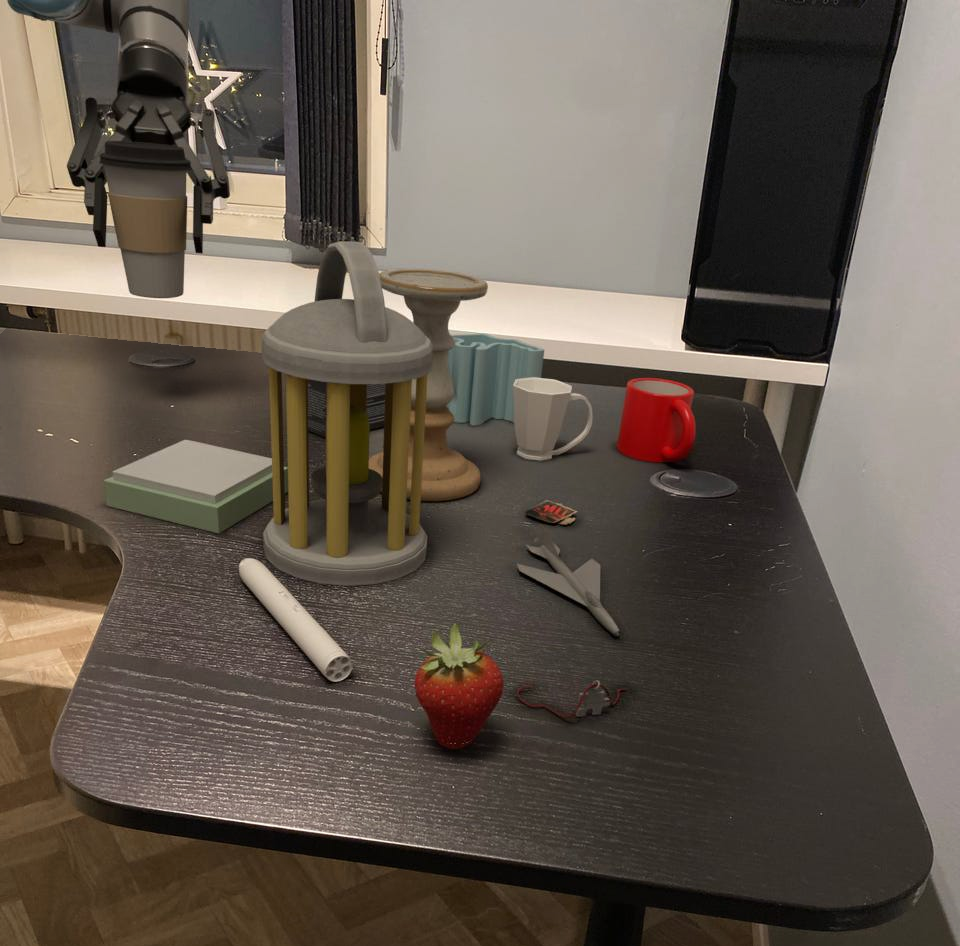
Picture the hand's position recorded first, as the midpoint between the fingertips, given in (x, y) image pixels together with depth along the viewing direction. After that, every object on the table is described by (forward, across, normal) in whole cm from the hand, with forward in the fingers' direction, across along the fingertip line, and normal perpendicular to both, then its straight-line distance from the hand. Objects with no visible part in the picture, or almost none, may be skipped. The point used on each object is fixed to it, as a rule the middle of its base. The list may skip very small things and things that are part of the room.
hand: (149, 241), depth 99 cm
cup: (+22, -44, -5) cm, 49 cm away
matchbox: (+35, -40, +8) cm, 54 cm away
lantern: (+40, -19, +13) cm, 46 cm away
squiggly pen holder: (+12, -36, -14) cm, 40 cm away
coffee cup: (+2, 0, -6) cm, 7 cm away
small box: (+15, -21, -11) cm, 29 cm away
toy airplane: (+44, -38, +18) cm, 61 cm away
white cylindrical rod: (+49, -14, +22) cm, 56 cm away
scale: (+32, -6, +6) cm, 33 cm away
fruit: (+60, -24, +34) cm, 73 cm away
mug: (+22, -58, -5) cm, 62 cm away
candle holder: (+28, -28, +2) cm, 40 cm away
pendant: (+58, -34, +31) cm, 74 cm away
